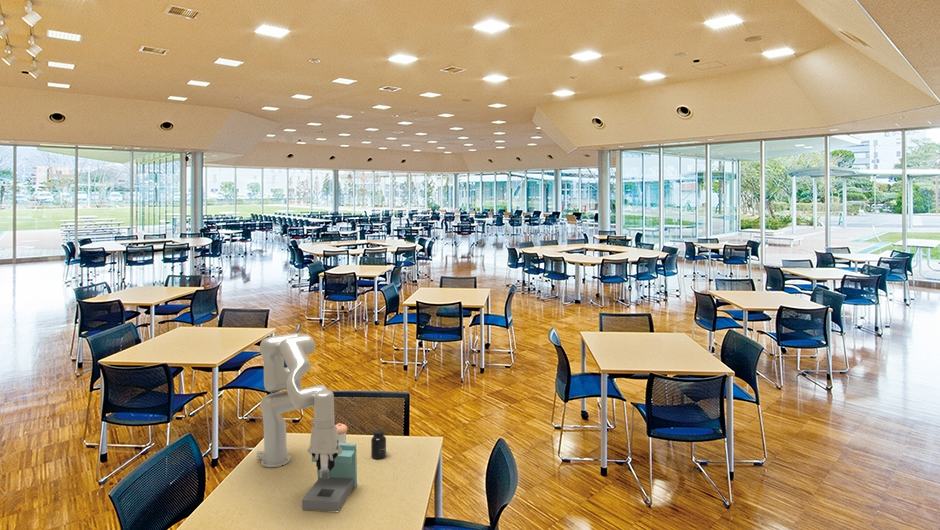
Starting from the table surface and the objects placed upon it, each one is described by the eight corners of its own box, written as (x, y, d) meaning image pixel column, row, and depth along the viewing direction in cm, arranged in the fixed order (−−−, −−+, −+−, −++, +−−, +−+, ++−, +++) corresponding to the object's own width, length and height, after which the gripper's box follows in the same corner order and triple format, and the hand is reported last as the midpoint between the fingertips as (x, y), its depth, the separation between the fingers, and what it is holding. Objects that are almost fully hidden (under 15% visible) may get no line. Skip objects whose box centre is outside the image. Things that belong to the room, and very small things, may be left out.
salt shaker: (350, 461, 243) (350, 420, 241) (345, 469, 236) (344, 427, 234) (335, 460, 244) (334, 420, 242) (329, 468, 236) (328, 426, 235)
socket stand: (299, 509, 203) (298, 464, 202) (319, 483, 223) (318, 441, 221) (340, 512, 202) (339, 466, 200) (356, 485, 222) (356, 443, 220)
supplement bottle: (383, 460, 244) (382, 435, 243) (369, 458, 246) (368, 433, 244) (388, 453, 251) (388, 429, 250) (374, 452, 252) (374, 427, 251)
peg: (318, 478, 205) (317, 448, 204) (322, 473, 209) (321, 444, 208) (328, 479, 205) (328, 449, 204) (332, 474, 209) (331, 444, 208)
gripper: (299, 426, 202) (300, 472, 204) (342, 427, 201) (343, 474, 202) (307, 418, 210) (308, 463, 212) (348, 420, 208) (349, 465, 210)
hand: (325, 468), depth 207 cm, fingers closed on peg, 4 cm apart
